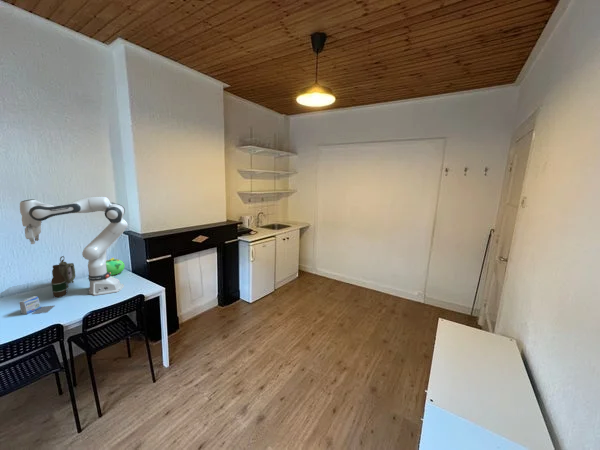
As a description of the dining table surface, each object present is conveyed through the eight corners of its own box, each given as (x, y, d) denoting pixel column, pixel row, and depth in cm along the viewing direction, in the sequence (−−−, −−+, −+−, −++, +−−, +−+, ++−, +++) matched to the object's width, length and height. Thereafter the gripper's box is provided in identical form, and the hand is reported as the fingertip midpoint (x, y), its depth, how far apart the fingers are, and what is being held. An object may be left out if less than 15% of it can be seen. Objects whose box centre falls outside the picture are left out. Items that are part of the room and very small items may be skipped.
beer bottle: (55, 298, 186) (50, 268, 181) (52, 295, 190) (46, 265, 185) (69, 294, 192) (64, 264, 187) (65, 292, 196) (60, 262, 191)
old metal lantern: (69, 288, 201) (64, 259, 196) (54, 290, 198) (49, 260, 193) (76, 281, 214) (72, 253, 209) (62, 282, 211) (58, 254, 206)
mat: (55, 305, 177) (55, 305, 177) (47, 312, 168) (47, 312, 168) (40, 307, 174) (40, 306, 174) (31, 314, 166) (31, 313, 166)
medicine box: (26, 314, 165) (23, 302, 163) (21, 313, 166) (18, 301, 164) (41, 308, 173) (38, 296, 171) (36, 307, 174) (33, 295, 172)
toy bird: (126, 269, 243) (124, 255, 240) (124, 276, 228) (122, 260, 225) (102, 272, 234) (100, 257, 231) (99, 279, 219) (97, 263, 216)
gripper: (33, 225, 168) (37, 245, 171) (42, 220, 185) (44, 238, 188) (20, 226, 165) (23, 246, 168) (29, 220, 181) (32, 239, 184)
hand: (35, 242), depth 178 cm, fingers open, 8 cm apart
